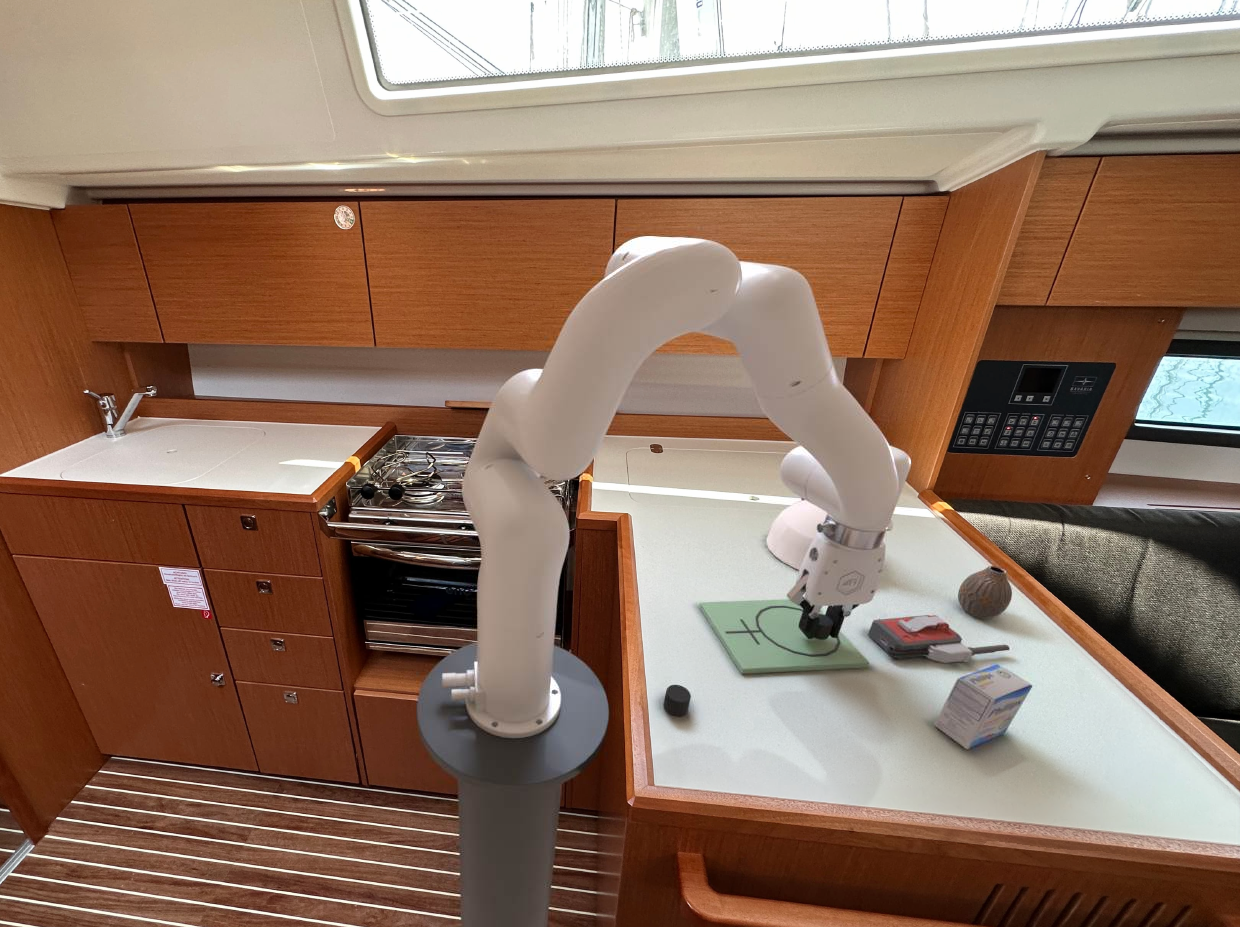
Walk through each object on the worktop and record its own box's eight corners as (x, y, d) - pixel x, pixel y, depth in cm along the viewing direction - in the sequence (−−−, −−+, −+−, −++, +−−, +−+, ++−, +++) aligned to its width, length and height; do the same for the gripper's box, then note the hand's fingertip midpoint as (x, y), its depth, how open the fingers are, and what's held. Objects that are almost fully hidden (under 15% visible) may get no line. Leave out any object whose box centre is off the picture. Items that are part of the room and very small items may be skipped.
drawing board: (741, 674, 82) (742, 668, 81) (698, 607, 96) (700, 602, 95) (867, 667, 84) (869, 662, 83) (808, 603, 98) (809, 598, 98)
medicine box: (966, 751, 71) (995, 701, 67) (932, 725, 74) (957, 676, 70) (1005, 734, 73) (1035, 685, 70) (970, 709, 77) (996, 661, 73)
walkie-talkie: (898, 671, 83) (1010, 659, 87) (908, 648, 81) (1023, 636, 85) (857, 633, 91) (962, 623, 94) (866, 611, 89) (972, 602, 92)
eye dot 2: (813, 640, 85) (818, 627, 84) (802, 627, 88) (806, 613, 87) (833, 639, 86) (838, 626, 85) (820, 626, 89) (825, 613, 87)
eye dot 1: (668, 717, 74) (671, 703, 73) (660, 699, 77) (663, 685, 76) (691, 716, 74) (694, 701, 73) (682, 697, 77) (685, 683, 76)
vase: (1002, 629, 93) (1026, 586, 89) (953, 614, 97) (974, 572, 93) (998, 608, 99) (1020, 566, 95) (951, 595, 102) (970, 554, 98)
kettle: (850, 595, 101) (883, 506, 92) (746, 547, 115) (767, 466, 106) (893, 559, 112) (927, 477, 104) (794, 520, 126) (816, 444, 118)
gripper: (813, 545, 74) (779, 651, 83) (926, 542, 76) (881, 646, 85) (784, 519, 81) (755, 619, 90) (888, 516, 83) (850, 615, 91)
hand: (817, 631), depth 87 cm, fingers closed on eye dot 2, 3 cm apart
